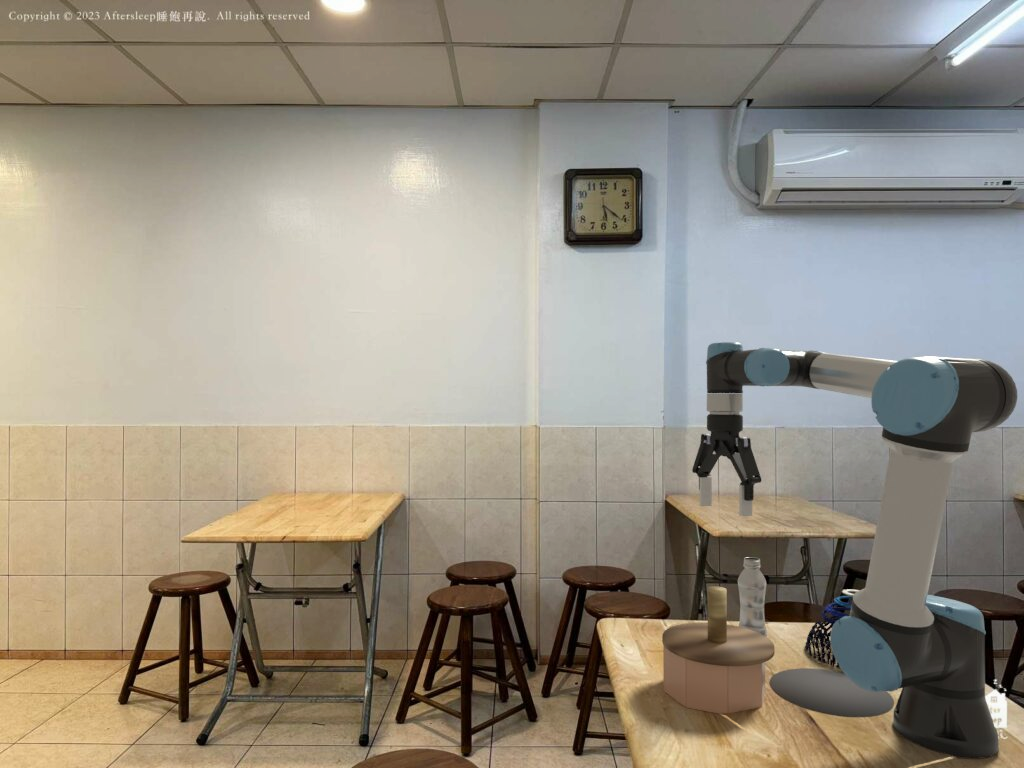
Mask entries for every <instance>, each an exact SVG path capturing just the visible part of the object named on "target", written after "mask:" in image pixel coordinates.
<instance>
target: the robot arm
mask: <svg viewBox="0 0 1024 768" xmlns="http://www.w3.org/2000/svg"><path fill="white" fill-rule="evenodd" d="M705 364H706V390H707V391H706V411H707V412H709V414H707V415H706V430H707V431H709V432H710V433H702V434H701V435H700V444H699V447H698V450H697V454H696V456H695V458H694V463H693V466H692V470H691V471H692V473H694V474H696V475H697V477H698V489H699V490H698V491H699V507H710V506H711V507H712V505H713V504H712V503H713V502H712V497H713V495H712V479H713V478H712V474H711V473H712V470H713V469H714V467H715V465H716V464H717V462H718V460H719V458H720V457H726V458H727V459H729V460H730V462H731V464H732V466H733V468H734V470H735V472H736V474H737V476H738V477H739V480H740V481H741V482H740V483H739V485H738V492H739V496H738V497H739V500H738V503H739V507H738V509H739V510H738V511H739V512H738V514H739V515H738V516H739V517H751V516H753V501H754V494H755V493H754V492H755V491H754V486H755V484H759V483H761V482H762V477H761V474H760V471H759V468H758V464H757V462H756V459H755V456H754V452H753V450H752V443H751V438H750V437H749V436H740V433H741V432H743V430H744V427H743V426H744V417H743V415H742V414H740V413H742V412H743V401H744V400H743V393H744V391H743V387H747V386H748V387H803V388H809V389H817V390H824V391H827V392H828V391H829V392H835V393H841V394H846V395H850V396H851V395H852V396H857V397H861V398H862V397H863V398H867V399H871V402H870V403H871V409H872V412H873V413H874V414H875V415H876V416H875V419H876V420H877V422H878V424H880V426H881V427H882V431H881V439H882V440H883V442H884V443H885V444H886V445H887V446H888V448H889V449H890V450H889V455H888V459H887V465H886V471H885V478H884V483H883V486H882V487H883V488H882V495H881V500H880V505H879V511H878V516H877V522H876V526H875V527H876V528H875V531H874V532H875V534H874V538H873V545H872V550H871V555H870V560H869V566H868V572H867V577H866V583H865V587H864V588H861V589H860V591H858V592H854V593H853V594H854V596H853V599H852V601H851V603H852V606H851V610H849V614H848V615H849V616H844V617H842V618H841V619H840V620H838V621H837V620H835V621H836V622H835V623H834V625H833V627H832V628H831V629H830V631H831V635H830V636H829V640H830V646H831V647H830V648H831V652H832V653H833V654H834V657H835V659H836V662H838V664H839V667H840V668H839V667H838V668H839V669H840V670H841V671H842V673H844V674H845V675H846V676H847V677H848V678H849V679H850V680H851V681H852V682H853V683H855V684H856V685H857V686H859V687H861V688H863V689H865V690H867V691H871V692H882V691H887V692H888V693H890V692H893V691H897V690H899V689H901V691H900V694H899V696H898V699H897V702H896V706H895V707H894V709H893V717H892V718H893V727H894V729H895V730H896V732H897V733H898V734H899V735H900V736H902V737H903V738H904V739H906V740H908V741H910V742H911V743H913V744H915V745H917V746H920V747H922V748H924V749H927V750H931V751H933V752H937V753H941V754H945V755H950V756H952V757H954V758H960V759H961V758H963V759H984V758H989V757H992V756H994V755H996V754H997V753H998V752H999V748H1000V747H999V733H998V730H997V728H996V726H995V724H994V721H993V717H992V714H991V711H990V709H989V705H988V703H987V699H986V634H987V631H986V630H985V620H984V619H985V618H984V614H983V613H982V612H981V610H980V609H979V608H977V607H976V606H973V605H972V604H969V603H967V602H966V603H965V602H962V601H960V600H955V599H951V598H946V597H942V596H937V595H932V594H929V589H930V584H931V579H932V573H933V568H934V563H935V559H936V553H937V549H938V543H939V538H940V535H941V534H940V533H941V528H942V523H943V519H944V518H943V517H944V513H945V507H946V502H947V497H948V493H949V488H950V482H951V477H952V472H953V467H954V462H955V461H956V460H957V459H959V458H961V457H962V456H964V455H966V454H967V453H968V452H969V448H970V447H969V446H970V444H971V438H972V433H981V432H985V431H988V430H992V429H994V428H996V427H998V426H1001V425H1002V424H1004V422H1006V420H1007V419H1009V418H1010V417H1011V415H1012V414H1013V412H1014V411H1015V408H1016V406H1017V402H1018V389H1017V386H1016V382H1015V380H1014V379H1013V377H1012V376H1011V374H1010V373H1009V372H1008V371H1007V370H1006V369H1004V367H1002V366H1000V365H999V364H996V363H995V362H992V361H990V360H986V359H981V358H966V357H962V358H961V357H944V356H927V355H924V356H918V357H909V358H908V357H907V358H903V359H900V360H890V359H883V358H871V357H865V356H864V357H863V356H855V355H847V354H846V355H845V354H844V355H843V354H839V353H838V354H836V353H828V352H823V351H820V350H819V351H818V350H788V349H787V350H784V349H777V348H773V347H771V348H770V347H767V348H766V347H760V348H758V349H757V348H756V349H747V350H744V347H743V345H742V343H740V342H735V341H734V342H732V341H730V342H729V341H726V342H725V341H722V342H712V343H710V344H709V345H708V346H707V352H706V361H705ZM833 654H832V655H833Z"/></svg>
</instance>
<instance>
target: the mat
mask: <svg viewBox="0 0 1024 768" xmlns="http://www.w3.org/2000/svg"><path fill="white" fill-rule="evenodd" d="M769 686H770V688H771V690H772V691H773V692H774V693H775V694H776V695H777V696H779V697H780V698H781V699H783V700H785V701H786V702H789V703H790V704H792V705H796V706H798V707H799V708H803V709H806V710H809V711H813V712H816V713H819V714H820V713H821V714H824V715H830V716H836V717H846V718H870V717H878V716H881V715H884V714H887V713H888V712H890V711H892V710H893V708H894V705H895V700H894V698H893V696H892V695H891V694H890V692H889V691H882V692H871V691H867V690H865V689H863V688H861V687H859V686H857V685H856V684H855V683H853V682H852V681H851V680H850V679H849V678H848V677H847V676H846V675H845V674H844V672H840V671H836V670H830V669H823V668H811V667H810V668H807V667H805V668H804V667H803V668H791V669H789V668H788V669H785V670H782V671H779V672H777V673H775V674H773V675H772V676H771V677H770V679H769Z"/></svg>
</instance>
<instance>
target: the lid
mask: <svg viewBox="0 0 1024 768" xmlns="http://www.w3.org/2000/svg"><path fill="white" fill-rule="evenodd" d="M706 592H707V594H706V595H707V622H687V623H681V624H676V625H673V626H671V627H668V628H666V629H665V630H664V631H663V633H662V635H661V636H662V637H661V638H662V645H664V646H665V647H666V649H668V650H669V651H670V652H672V653H674V654H676V655H678V656H680V657H683V658H685V659H688V660H692V661H696V662H700V663H705V664H711V665H719V666H750V665H756V664H760V663H764V662H765V663H766V662H768V661H769V660H771V659H773V658H774V655H775V644H774V643H773V641H772V640H771V639H770V638H769V637H768V636H767V637H766V636H764V635H762V634H760V633H758V632H755V631H752V630H749V629H746V628H742V627H738V626H739V625H738V626H736V625H732V624H728V623H727V621H728V620H727V617H728V616H727V614H728V613H727V612H728V608H727V607H728V606H727V605H728V601H727V600H728V598H727V593H728V592H727V588H725V587H723V586H717V585H716V586H715V585H714V586H708V587H707V591H706Z"/></svg>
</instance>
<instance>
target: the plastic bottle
mask: <svg viewBox="0 0 1024 768" xmlns="http://www.w3.org/2000/svg"><path fill="white" fill-rule="evenodd" d="M743 567H744V569H743V570H742V571H741V572H740V573H739V576H738V578H737V587H738V593H739V603H740V606H739V607H740V610H739V611H740V612H739V623H738V627H742V628H746V629H749V630H752V631H755V632H758V633H760V634H762V635H764V636H766V637H767V638H768V632H767V631H768V630H767V627H766V619H765V618H766V617H765V598H766V597H765V596H766V592H767V580H766V578H765V576H764V574H763V573H762V571H761V570H760V568H761V559H760V558H759V557H753V556H752V557H751V556H747V557H744V558H743Z"/></svg>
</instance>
